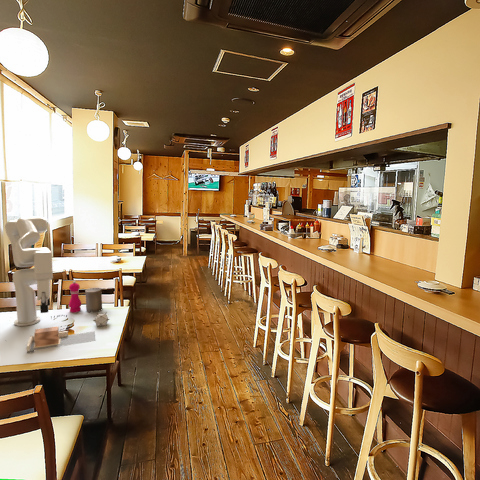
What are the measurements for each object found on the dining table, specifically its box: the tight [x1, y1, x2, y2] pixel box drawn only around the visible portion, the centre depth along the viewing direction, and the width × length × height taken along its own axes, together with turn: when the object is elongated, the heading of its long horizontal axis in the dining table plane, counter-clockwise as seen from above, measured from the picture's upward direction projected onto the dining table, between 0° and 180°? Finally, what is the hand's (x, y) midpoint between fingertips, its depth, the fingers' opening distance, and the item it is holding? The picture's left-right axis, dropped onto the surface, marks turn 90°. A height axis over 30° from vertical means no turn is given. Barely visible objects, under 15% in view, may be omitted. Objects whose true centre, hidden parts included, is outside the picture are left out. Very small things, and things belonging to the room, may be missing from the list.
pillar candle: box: [84, 287, 103, 313], centre depth 212 cm, size 10×10×15 cm
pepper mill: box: [68, 280, 82, 314], centre depth 208 cm, size 7×7×20 cm
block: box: [34, 325, 60, 347], centre depth 163 cm, size 10×5×7 cm, turn 117°
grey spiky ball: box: [92, 311, 111, 327], centre depth 187 cm, size 9×8×10 cm
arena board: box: [26, 330, 97, 354], centre depth 167 cm, size 12×30×4 cm, turn 116°
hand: (45, 309), depth 161 cm, fingers open, 9 cm apart
